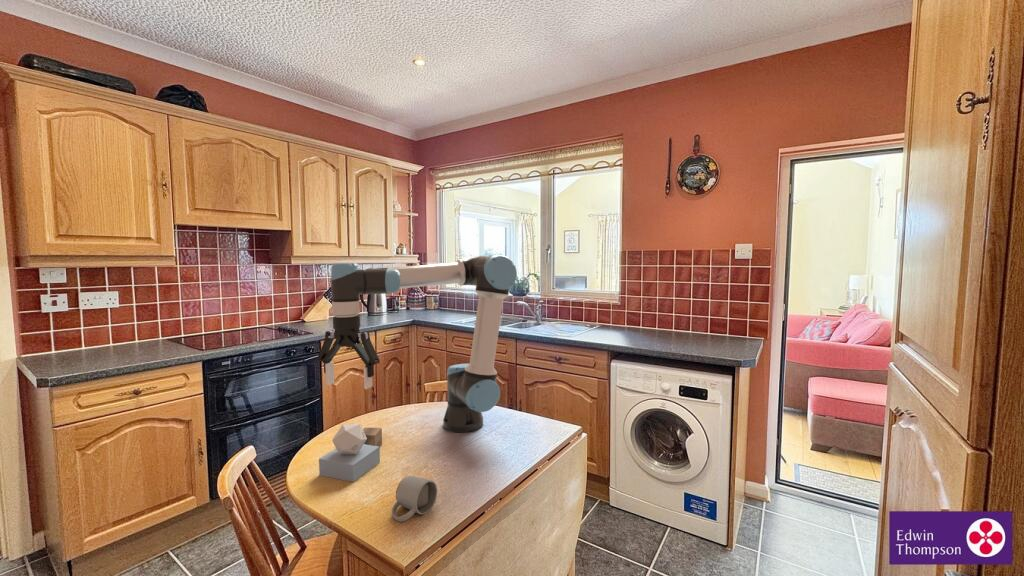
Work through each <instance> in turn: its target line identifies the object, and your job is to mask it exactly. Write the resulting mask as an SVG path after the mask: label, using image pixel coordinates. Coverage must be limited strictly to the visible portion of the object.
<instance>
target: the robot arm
mask: <svg viewBox="0 0 1024 576" xmlns="http://www.w3.org/2000/svg"><path fill="white" fill-rule="evenodd" d="M330 272H331V273H330V274H331V275H330V286H331V287H330V288H331V311H332V315H333V317H332V328H333V329H332V330H327V331H324V332H325V333H324V340H323V343H322V346H321V347H320V351H319V353H318V355H317V361H318V362H322V364H323V372H324V374H325V386H330V385H333V384H335V380H336V379H335V362H334V361H333V359H334V358H335V356H336V355H337V353H338V352H339V350H341V348H343V347H344V348H345V347H346V348H351V349H352V350H353V351H355V353H356V354H357V355H358V357H359V358H360V359H361V361H362V362H363V364H364V365H365V366H363V387H364V390H368V389H371V388H372V387H373V377H374V375H375V369H374V368H375V367H374V366H375V365H377V364H380V363H381V362H380V358H379V356H378V354H377V352H376V349H375V348H374V345H373V343H372V341H371V337H370V332H369V331H366V332H361V331H360V327H361V316H360V315H359V314H361V310H360V295H380V294H383V295H384V294H385V295H386V294H387V295H389V294H395V293H396V294H397V293H398V292H399V291H400V289H407V288H409V289H411V288H418V287H419V288H420V287H431V286H441V285H451V284H458V285H459V286H475V293H476V294H477V295H478V301H477V302H478V303H477V308H476V314H475V323H474V329H473V337H472V345H471V351H470V357H469V363H458V364H453V365H450V366H448V367H447V373H446V380H447V381H446V385H447V390H446V391H447V392H446V393H447V407H446V410H445V413H444V417H443V419H442V421H443V423H442V426H443V428H444V429H445V430H447V431H448V432H454V433H467V432H472V431H477V430H479V429H481V428H482V427H483V425H484V416H483V413H486V412H488V411H491V410H492V409H493V408H494V407H495V406H496V405H497V404H498V402H499V400H500V397H501V388H500V386H499V384H498V383H497V380H498V371H497V370H496V368H495V360H496V353H497V348H498V347H497V346H498V341H499V340H498V339H499V332H500V326H501V325H500V324H501V319H502V312H503V311H502V310H503V305H504V303H503V302H504V300H505V299H506V298H507V297H509V292H510V288H512V286H513V285H514V284H515V283H516V280H517V276H518V273H517V268H516V265H515V263H514V262H513V260H511V259H510V257H507V256H505V255H503V254H489V255H488V254H487V255H479V256H474V257H470V258H464V259H457V260H456V261H455V262H447V263H433V264H432V263H431V264H422V265H420V264H419V265H405V266H392V267H391V266H390V267H380V268H379V267H378V268H373V267H371V268H366V269H362V268H361V269H360V267H359V265H358V263H356V262H354V263H353V262H352V263H349V262H348V263H345V262H344V263H343V262H342V263H334V264H332V266H331V267H330Z"/></svg>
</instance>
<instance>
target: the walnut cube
mask: <svg viewBox="0 0 1024 576" xmlns="http://www.w3.org/2000/svg"><path fill="white" fill-rule="evenodd" d="M362 429H363V431H364V433H365V435H366V438H367V440H366V441H365V443H364V444H366V445H372V446H378V447H380V448H381V447H382V446H383V431H382V430H383V429H382V427H363V428H362Z"/></svg>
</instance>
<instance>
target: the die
mask: <svg viewBox="0 0 1024 576" xmlns="http://www.w3.org/2000/svg"><path fill="white" fill-rule="evenodd" d="M331 440H332V443H333V445H334V447H335V449H337V451H338V453H339V455H357V454H358V453H359V451H360V449H361V448H362V446H363V445H364V443H365V441H366V440H367V438H366V435H365V433H364V431H363V428H362V426H361V424H356V423H354V424H353V423H351V424H346V423H345V424H342V425H341V426H340V428H339V429H338V430H337V432H336V433H335V435H334V437H332V439H331Z"/></svg>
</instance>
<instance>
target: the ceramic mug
mask: <svg viewBox="0 0 1024 576" xmlns="http://www.w3.org/2000/svg"><path fill="white" fill-rule="evenodd" d="M437 496H438V488H437V484H436V482H435V481H434V480H432V479H428V478H427V479H426V478H424V477H419V476H415V475H408V476H405V477H404V478H402V479H401V480H400V482H399V483H398V485H397V487H396V491H395V500H396V502H395V503H394V505H393V506H392V508H391V516H392V517H393V519H394V520H395V521H397V522H399V523H402V522H405V521H408V520H409V519H410V518H411V517H413V516H414V514H415V513H416V514H419V515H425V514H428V513H429V512H430V511H431V510H432V508H434V505H435V503H436V501H437ZM400 506H401V507H403V508H405V509H407V510H408V512H406V513H405V514H403V515H400V516H397V513H396V512H397V509H399V507H400Z"/></svg>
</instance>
